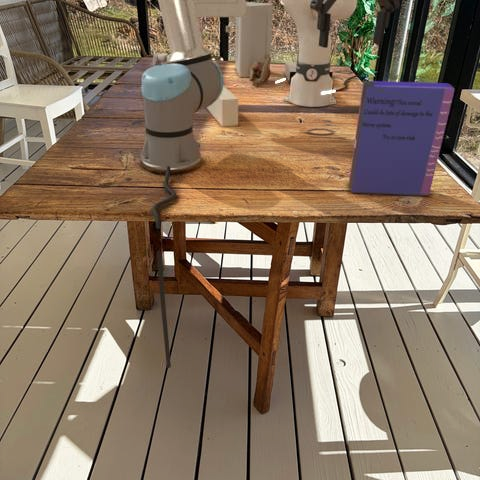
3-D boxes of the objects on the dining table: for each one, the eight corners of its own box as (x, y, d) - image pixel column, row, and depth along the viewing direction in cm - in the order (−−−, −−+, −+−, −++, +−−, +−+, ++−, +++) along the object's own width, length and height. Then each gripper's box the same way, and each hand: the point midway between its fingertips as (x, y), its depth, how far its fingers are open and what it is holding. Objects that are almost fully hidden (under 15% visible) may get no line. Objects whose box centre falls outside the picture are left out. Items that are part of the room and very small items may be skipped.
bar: (238, 125, 151) (238, 98, 146) (222, 126, 149) (221, 99, 145) (220, 106, 169) (220, 82, 165) (205, 107, 168) (205, 82, 163)
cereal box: (423, 187, 112) (447, 82, 100) (428, 195, 108) (454, 87, 96) (348, 184, 113) (363, 79, 101) (351, 192, 109) (367, 85, 96)
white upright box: (273, 76, 210) (276, 6, 196) (239, 77, 209) (240, 6, 194) (266, 67, 226) (268, 2, 212) (235, 67, 225) (235, 1, 210)
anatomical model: (260, 88, 207) (256, 89, 193) (245, 74, 206) (240, 74, 192) (280, 65, 202) (277, 65, 188) (265, 51, 201) (261, 49, 187)
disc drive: (289, 84, 198) (290, 71, 196) (284, 72, 218) (284, 61, 215) (331, 84, 199) (332, 72, 196) (322, 72, 218) (323, 61, 215)
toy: (172, 75, 209) (171, 59, 206) (148, 65, 227) (147, 49, 223) (219, 69, 221) (219, 54, 218) (193, 60, 239) (193, 45, 235)
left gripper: (407, -68, 100) (389, 40, 111) (299, -72, 93) (291, 44, 104) (430, -69, 94) (409, 45, 105) (316, -73, 87) (306, 50, 98)
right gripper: (243, -17, 150) (242, 30, 158) (179, -17, 145) (181, 32, 152) (249, -16, 145) (248, 33, 152) (183, -16, 140) (185, 34, 147)
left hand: (350, 45), depth 105 cm, fingers open, 13 cm apart
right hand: (214, 32), depth 152 cm, fingers open, 8 cm apart
